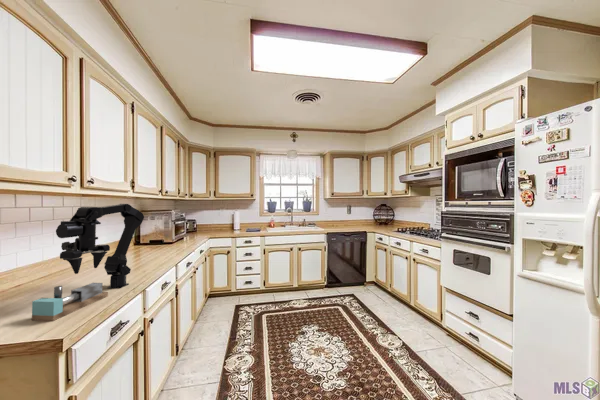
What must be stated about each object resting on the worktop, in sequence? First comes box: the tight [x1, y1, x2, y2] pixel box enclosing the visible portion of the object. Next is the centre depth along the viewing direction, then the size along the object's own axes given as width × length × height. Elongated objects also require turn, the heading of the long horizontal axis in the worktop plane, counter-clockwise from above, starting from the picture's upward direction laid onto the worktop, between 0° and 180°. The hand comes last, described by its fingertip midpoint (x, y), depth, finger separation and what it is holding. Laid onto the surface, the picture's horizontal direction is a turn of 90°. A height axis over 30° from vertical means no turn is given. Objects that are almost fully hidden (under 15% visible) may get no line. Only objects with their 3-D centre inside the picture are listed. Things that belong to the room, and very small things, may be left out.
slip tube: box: [53, 285, 81, 305], centre depth 96 cm, size 13×3×8 cm, turn 178°
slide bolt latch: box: [31, 282, 109, 322], centre depth 99 cm, size 24×8×6 cm, turn 178°
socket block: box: [31, 297, 63, 316], centre depth 89 cm, size 3×8×5 cm, turn 87°
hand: (86, 270), depth 108 cm, fingers open, 9 cm apart
